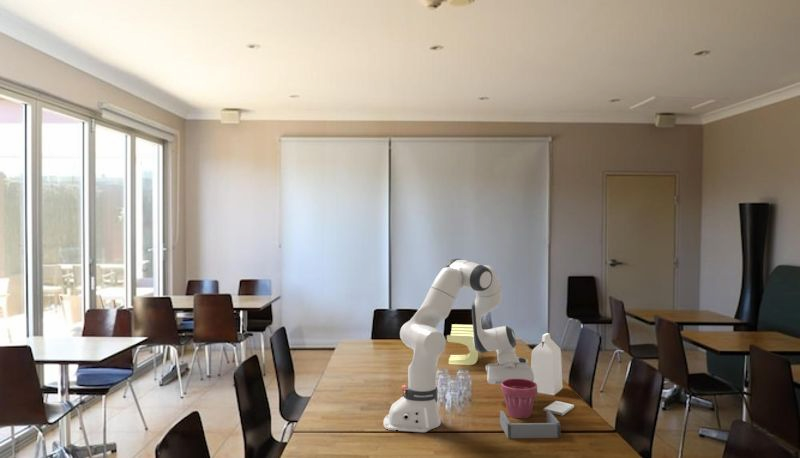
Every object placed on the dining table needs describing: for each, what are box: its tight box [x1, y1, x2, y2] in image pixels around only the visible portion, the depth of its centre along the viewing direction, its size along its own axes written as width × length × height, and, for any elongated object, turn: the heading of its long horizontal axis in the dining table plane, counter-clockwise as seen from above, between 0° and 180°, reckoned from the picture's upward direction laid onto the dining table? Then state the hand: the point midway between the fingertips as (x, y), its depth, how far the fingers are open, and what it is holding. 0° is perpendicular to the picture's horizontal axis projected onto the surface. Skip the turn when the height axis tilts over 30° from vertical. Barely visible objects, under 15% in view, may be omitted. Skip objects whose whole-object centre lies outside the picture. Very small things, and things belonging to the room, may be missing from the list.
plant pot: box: [500, 379, 538, 419], centre depth 214 cm, size 14×14×13 cm
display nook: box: [499, 410, 562, 439], centre depth 198 cm, size 19×14×5 cm
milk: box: [530, 332, 563, 396], centre depth 245 cm, size 12×12×26 cm
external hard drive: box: [542, 400, 575, 416], centre depth 220 cm, size 2×8×12 cm
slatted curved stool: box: [446, 323, 480, 366], centre depth 295 cm, size 30×16×18 cm, turn 169°
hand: (512, 392), depth 225 cm, fingers closed
